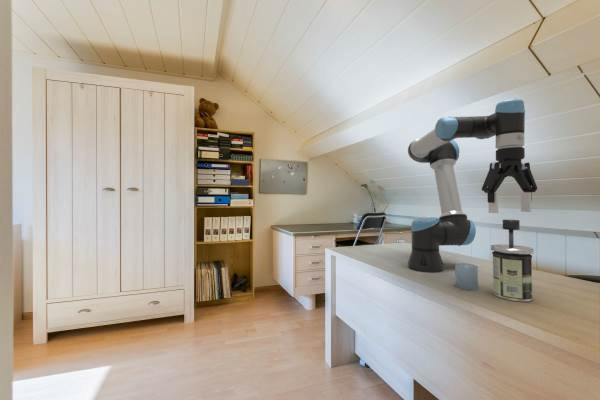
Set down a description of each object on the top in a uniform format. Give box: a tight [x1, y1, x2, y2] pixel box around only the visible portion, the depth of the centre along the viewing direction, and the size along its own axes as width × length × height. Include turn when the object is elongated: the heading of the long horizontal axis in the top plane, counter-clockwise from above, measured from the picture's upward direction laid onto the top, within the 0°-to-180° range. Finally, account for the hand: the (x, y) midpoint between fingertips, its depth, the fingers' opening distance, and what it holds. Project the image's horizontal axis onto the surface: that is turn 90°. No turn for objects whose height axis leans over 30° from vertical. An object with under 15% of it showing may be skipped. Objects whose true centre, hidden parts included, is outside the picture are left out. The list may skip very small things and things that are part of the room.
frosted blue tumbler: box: [454, 262, 479, 292], centre depth 97 cm, size 7×7×8 cm
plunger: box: [490, 219, 534, 255], centre depth 88 cm, size 11×11×10 cm
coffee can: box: [491, 251, 533, 303], centre depth 88 cm, size 10×10×14 cm
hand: (509, 212), depth 88 cm, fingers open, 13 cm apart
